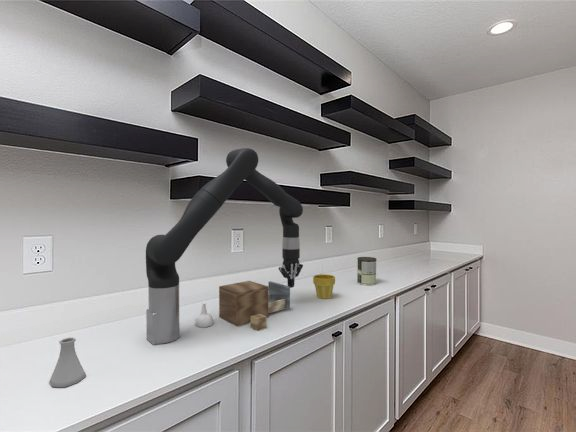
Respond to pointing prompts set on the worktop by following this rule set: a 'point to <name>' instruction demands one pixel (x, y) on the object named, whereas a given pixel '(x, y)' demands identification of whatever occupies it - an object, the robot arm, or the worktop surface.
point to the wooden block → (258, 322)
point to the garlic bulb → (204, 318)
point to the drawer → (278, 296)
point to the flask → (67, 365)
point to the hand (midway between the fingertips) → (291, 287)
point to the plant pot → (324, 285)
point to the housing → (242, 302)
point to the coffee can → (366, 271)
